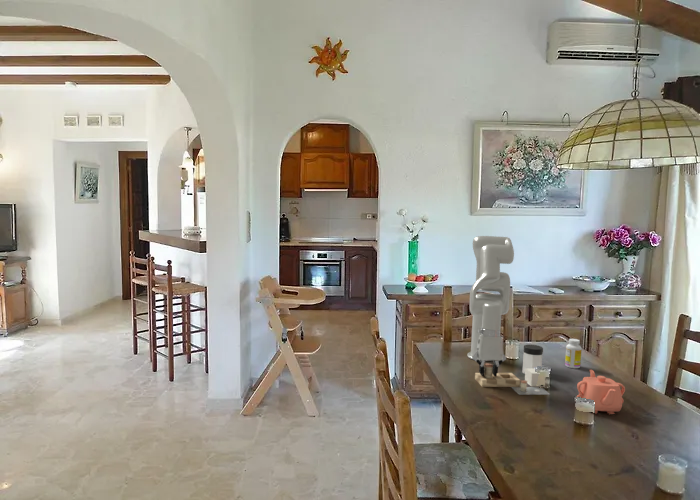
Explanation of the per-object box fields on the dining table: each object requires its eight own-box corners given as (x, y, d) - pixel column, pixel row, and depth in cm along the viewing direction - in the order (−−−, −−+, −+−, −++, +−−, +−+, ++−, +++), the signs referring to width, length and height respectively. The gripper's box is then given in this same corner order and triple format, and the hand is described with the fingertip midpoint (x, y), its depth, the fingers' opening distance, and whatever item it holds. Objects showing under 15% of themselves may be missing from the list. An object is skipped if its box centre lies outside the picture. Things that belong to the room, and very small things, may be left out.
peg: (482, 382, 216) (483, 363, 215) (490, 381, 216) (491, 363, 215) (485, 384, 212) (486, 366, 212) (493, 384, 213) (494, 366, 212)
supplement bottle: (581, 366, 241) (583, 339, 240) (579, 369, 236) (581, 342, 234) (566, 363, 245) (568, 337, 244) (563, 367, 239) (565, 340, 238)
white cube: (524, 381, 218) (525, 368, 217) (538, 381, 218) (539, 368, 218) (531, 387, 211) (532, 373, 211) (545, 387, 212) (546, 373, 211)
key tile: (510, 387, 210) (511, 377, 209) (541, 387, 211) (542, 377, 211) (518, 395, 202) (519, 384, 202) (550, 395, 203) (551, 384, 203)
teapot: (588, 398, 201) (590, 367, 200) (632, 412, 188) (634, 379, 187) (567, 406, 192) (570, 373, 191) (612, 422, 179) (615, 387, 178)
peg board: (474, 379, 218) (475, 372, 218) (511, 379, 220) (511, 372, 219) (482, 387, 209) (482, 380, 209) (519, 387, 211) (520, 380, 210)
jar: (545, 374, 228) (547, 347, 227) (535, 377, 223) (537, 350, 222) (527, 368, 235) (529, 343, 234) (517, 371, 230) (519, 345, 229)
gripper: (473, 334, 208) (471, 378, 209) (514, 335, 209) (511, 378, 211) (468, 330, 215) (465, 372, 217) (507, 330, 216) (504, 372, 218)
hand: (488, 374), depth 214 cm, fingers open, 4 cm apart
